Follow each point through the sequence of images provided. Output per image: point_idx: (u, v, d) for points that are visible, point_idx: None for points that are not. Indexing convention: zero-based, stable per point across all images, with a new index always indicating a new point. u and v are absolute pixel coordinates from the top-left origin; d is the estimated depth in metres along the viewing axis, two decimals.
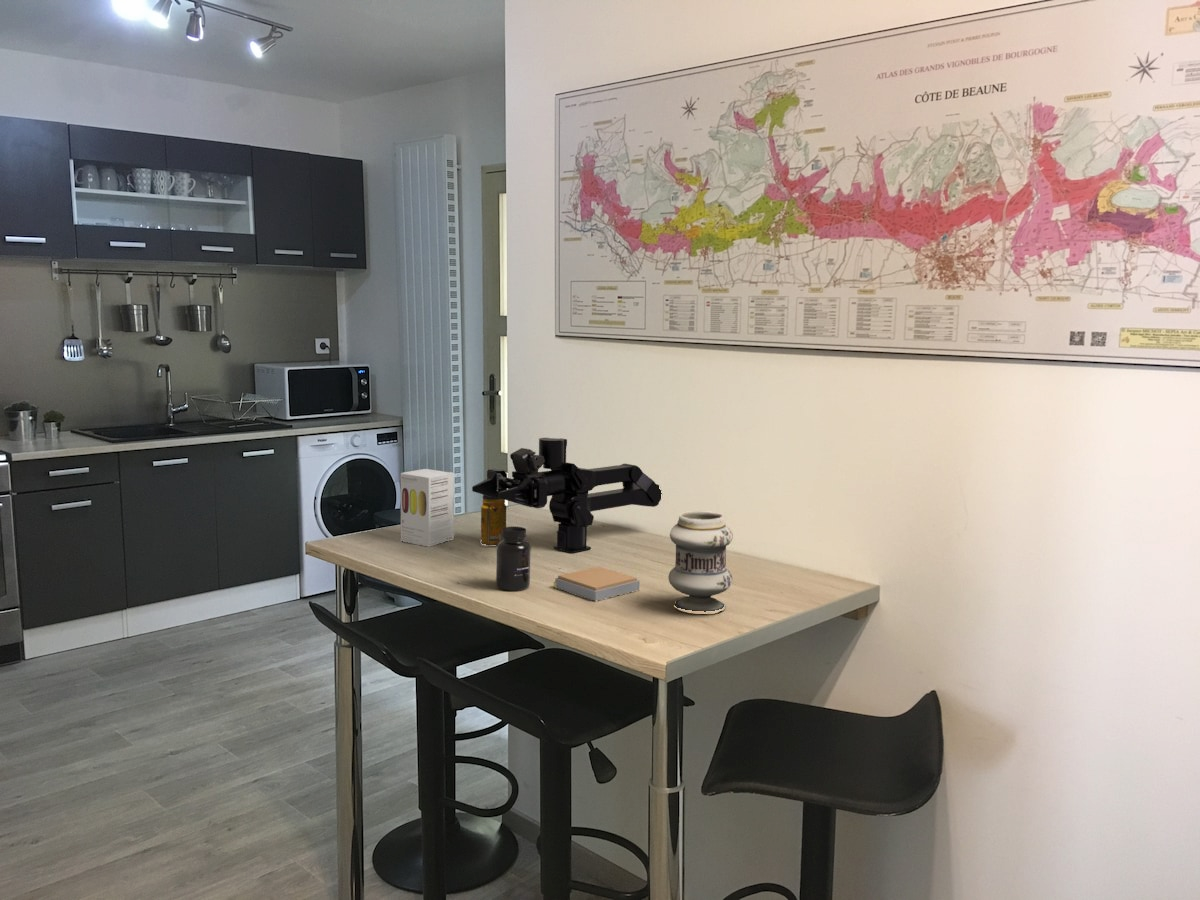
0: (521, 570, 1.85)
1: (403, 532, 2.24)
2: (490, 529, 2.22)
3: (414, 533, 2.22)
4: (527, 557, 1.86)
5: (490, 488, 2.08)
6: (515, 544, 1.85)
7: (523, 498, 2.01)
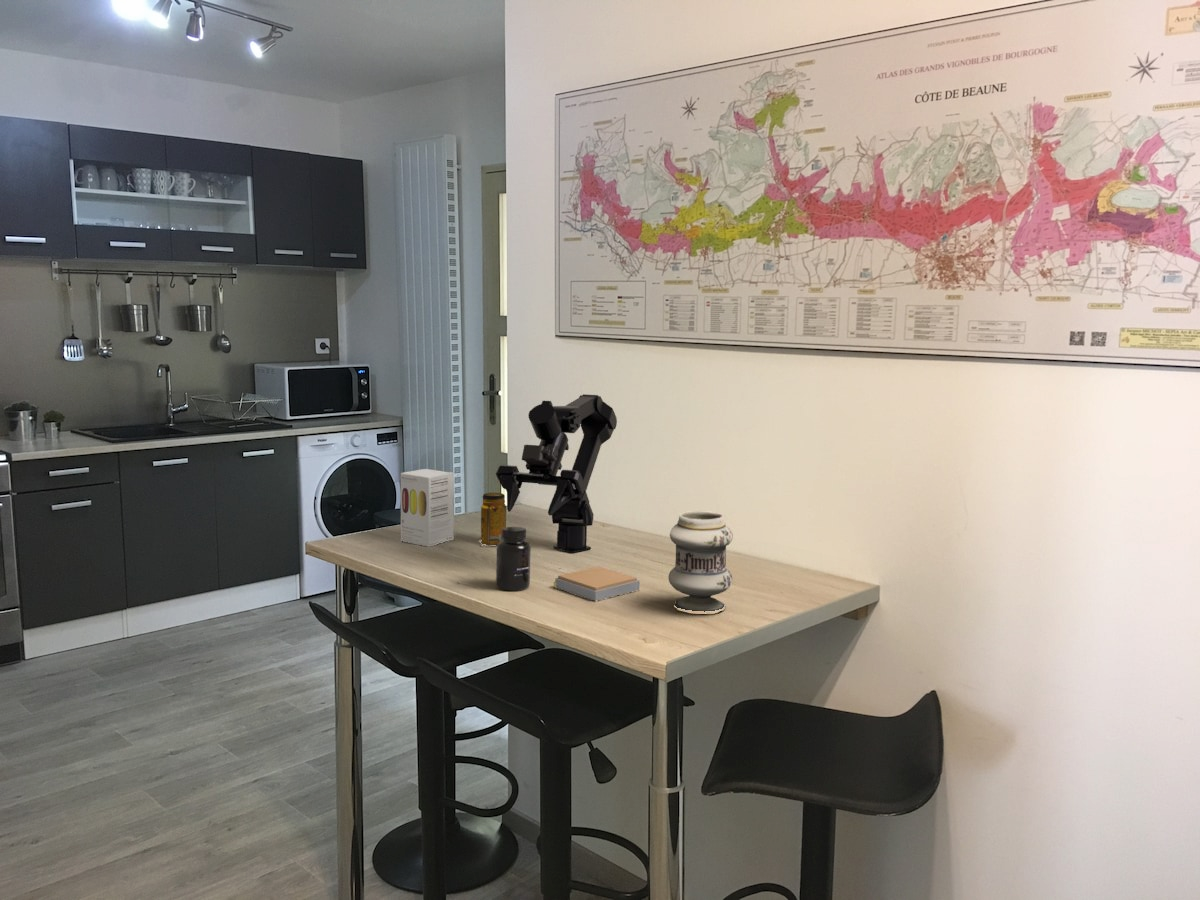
0: (521, 570, 1.85)
1: (403, 532, 2.24)
2: (490, 529, 2.22)
3: (414, 533, 2.22)
4: (527, 557, 1.86)
5: (515, 492, 1.99)
6: (515, 544, 1.85)
7: (564, 496, 1.97)
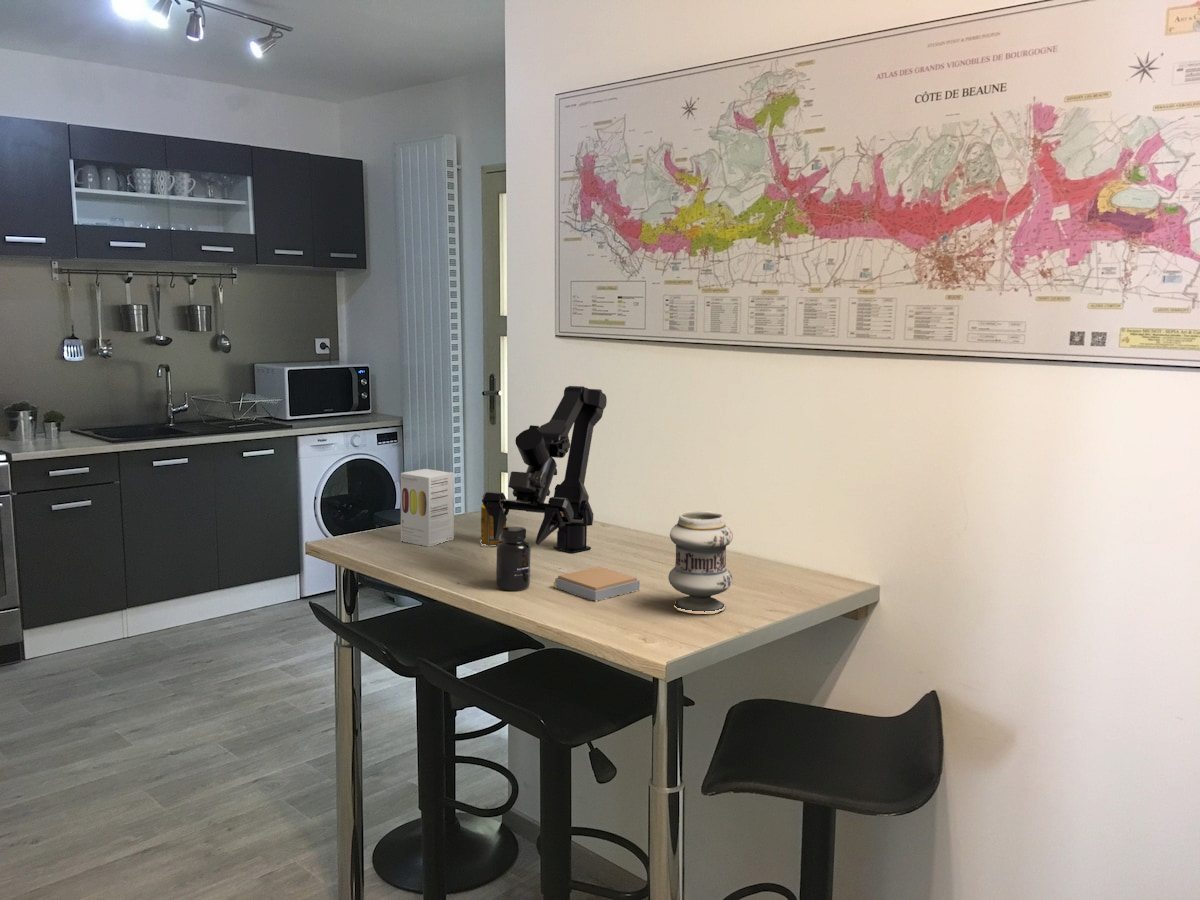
0: (521, 570, 1.85)
1: (403, 532, 2.24)
2: (490, 529, 2.22)
3: (414, 533, 2.22)
4: (527, 557, 1.86)
5: (502, 520, 1.93)
6: (515, 544, 1.85)
7: (553, 524, 1.91)
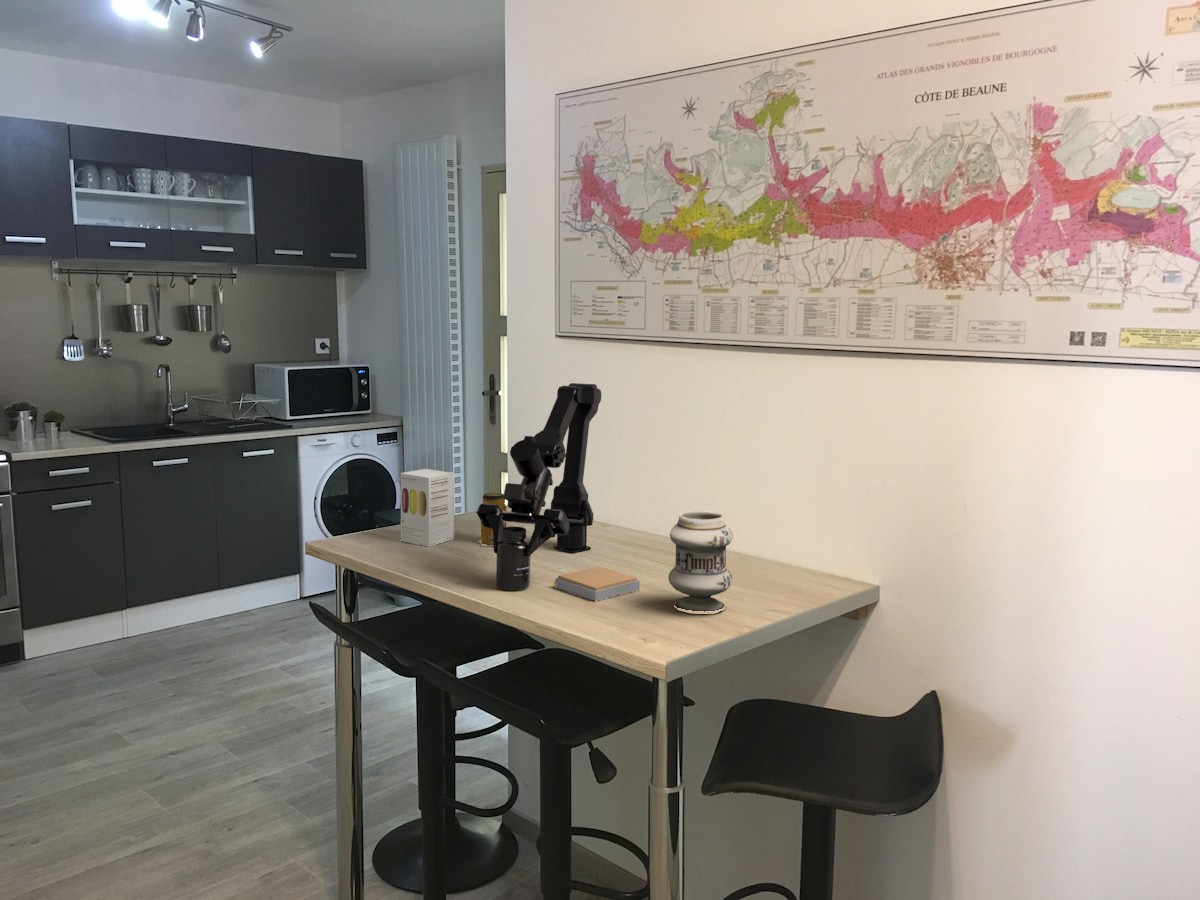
0: (521, 570, 1.85)
1: (403, 532, 2.24)
2: (490, 529, 2.22)
3: (414, 533, 2.22)
4: (527, 557, 1.86)
5: None
6: (515, 544, 1.85)
7: (543, 535, 1.89)
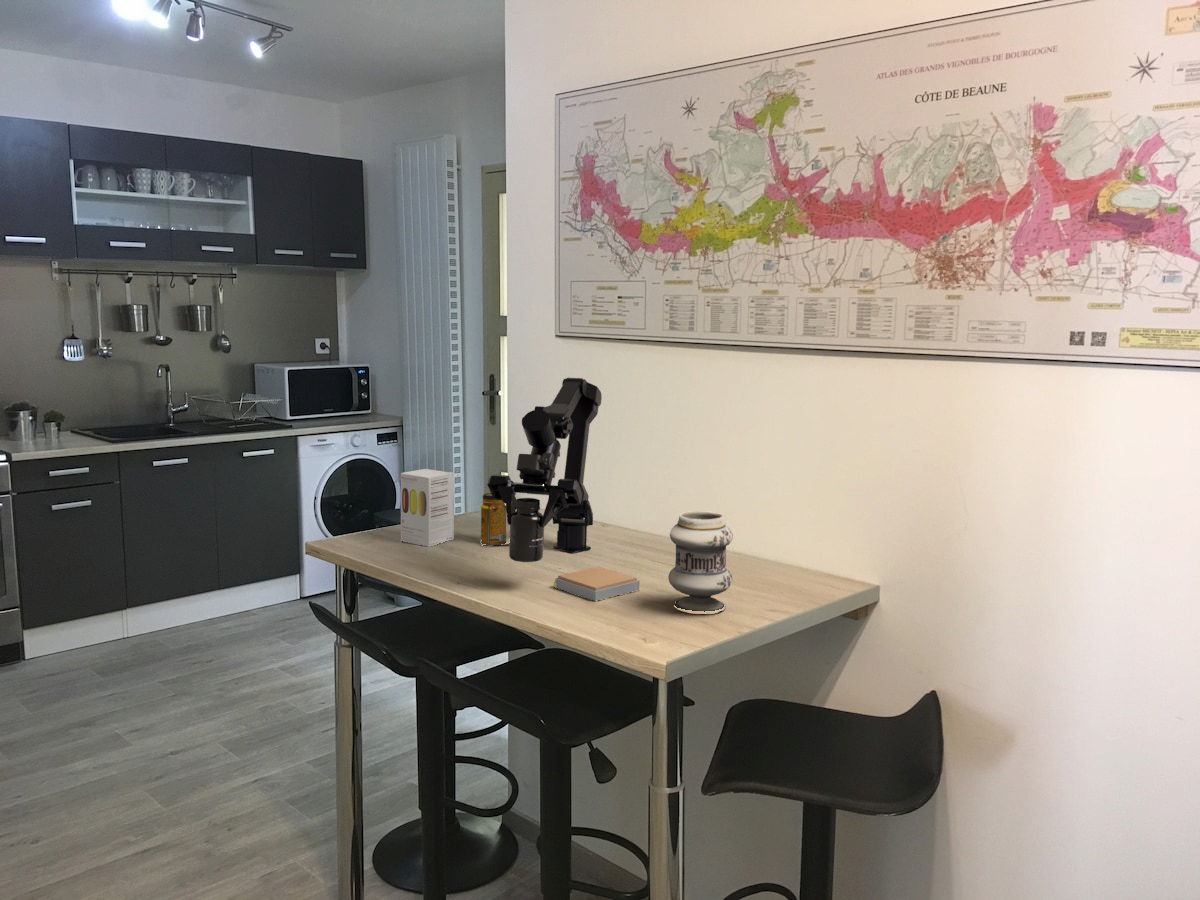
0: (535, 542, 1.84)
1: (403, 532, 2.24)
2: (490, 529, 2.22)
3: (414, 533, 2.22)
4: (541, 528, 1.85)
5: (514, 503, 1.89)
6: (530, 515, 1.84)
7: (556, 506, 1.88)
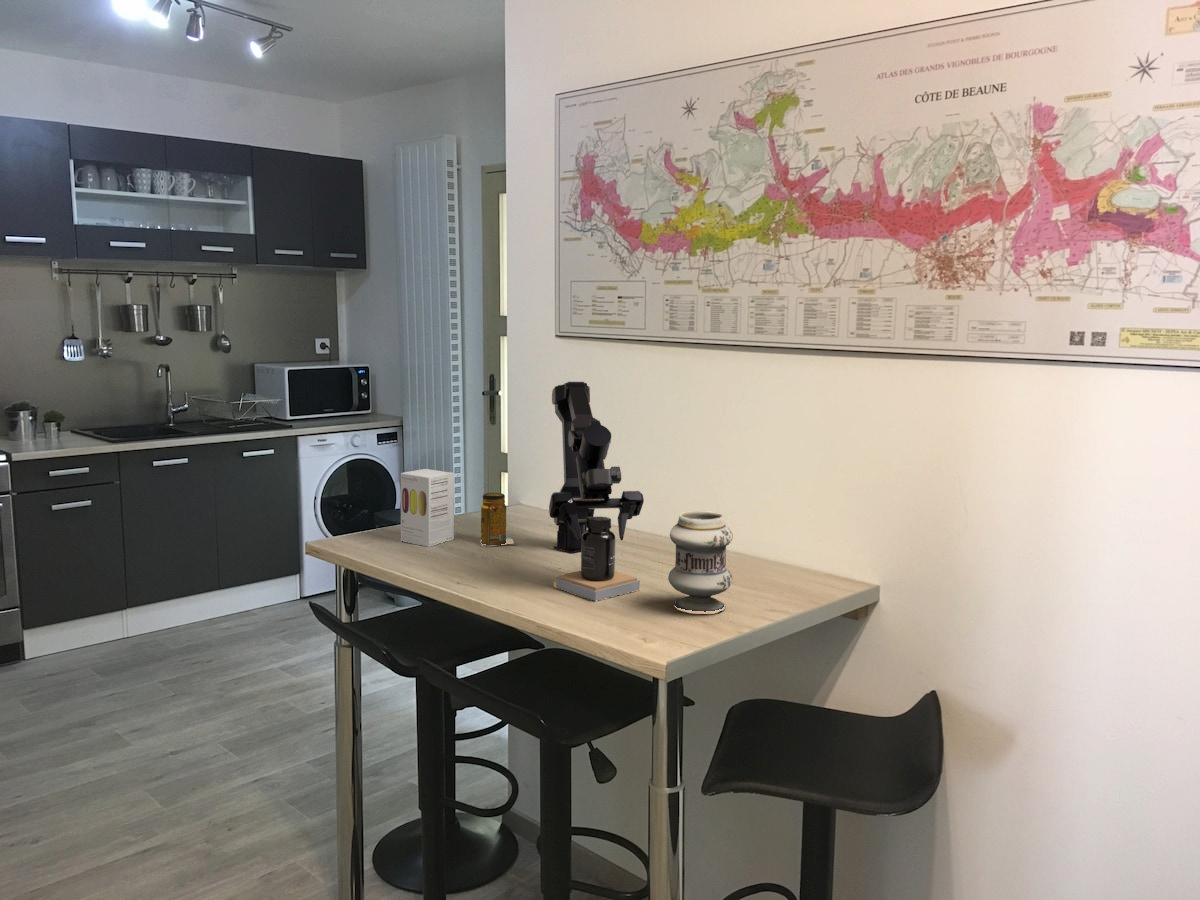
0: (613, 559, 1.85)
1: (403, 532, 2.24)
2: (490, 529, 2.22)
3: (414, 533, 2.22)
4: None
5: None
6: (606, 533, 1.85)
7: None
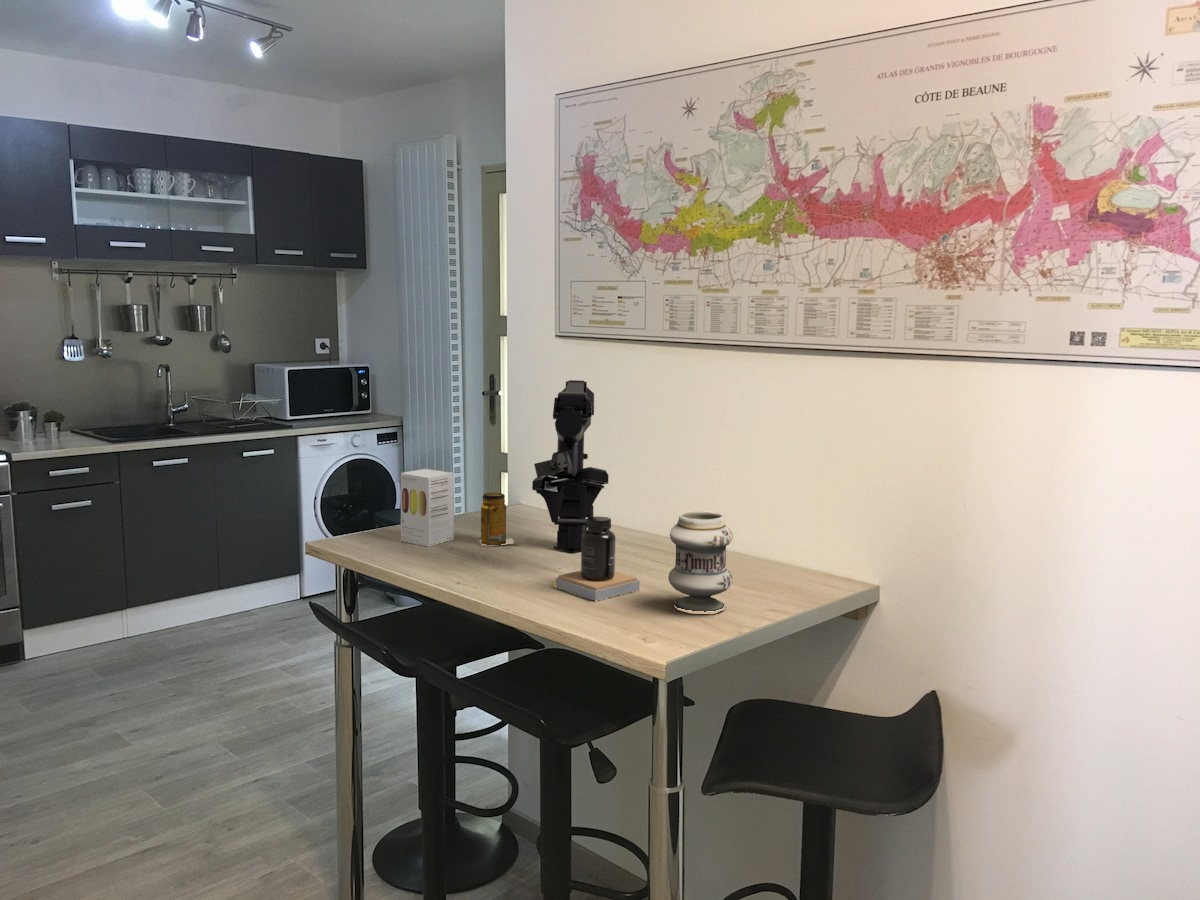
0: (613, 559, 1.85)
1: (403, 532, 2.24)
2: (490, 529, 2.22)
3: (414, 533, 2.22)
4: None
5: (555, 500, 2.03)
6: (607, 533, 1.85)
7: (592, 491, 1.96)
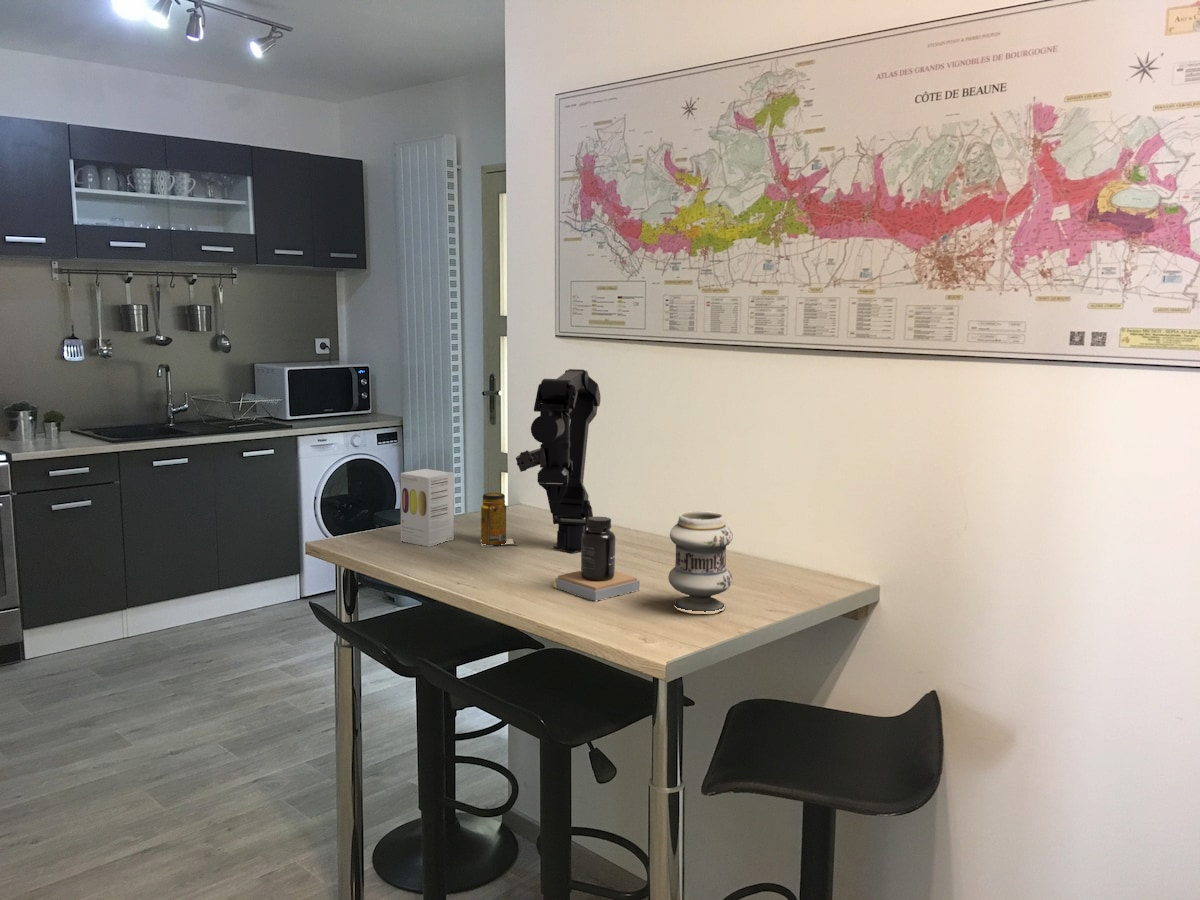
0: (613, 559, 1.85)
1: (403, 532, 2.24)
2: (490, 529, 2.22)
3: (414, 533, 2.22)
4: None
5: None
6: (606, 533, 1.85)
7: (558, 488, 1.95)
